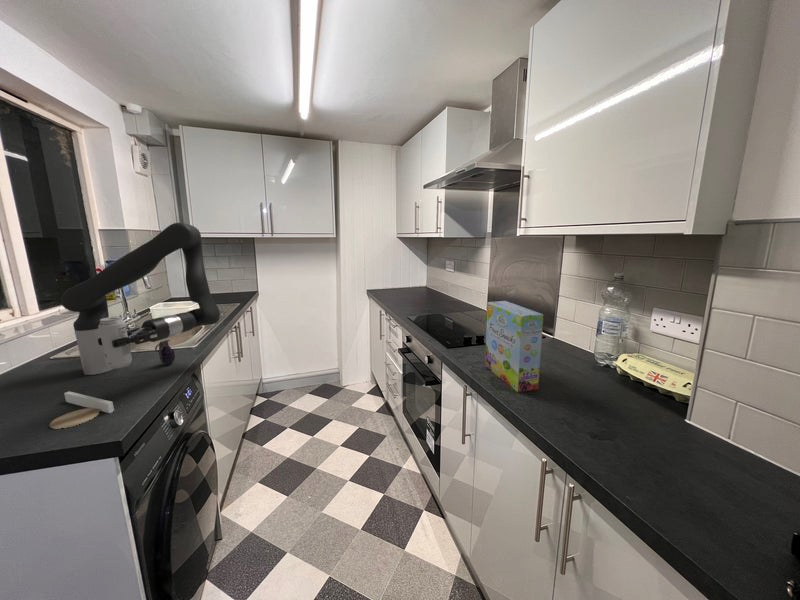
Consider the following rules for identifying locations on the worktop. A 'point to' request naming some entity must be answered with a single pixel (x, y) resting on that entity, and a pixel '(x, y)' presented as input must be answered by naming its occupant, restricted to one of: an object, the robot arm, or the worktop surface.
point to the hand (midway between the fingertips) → (106, 343)
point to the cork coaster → (74, 418)
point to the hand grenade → (165, 352)
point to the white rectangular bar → (89, 402)
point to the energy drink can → (112, 331)
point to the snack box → (514, 344)
